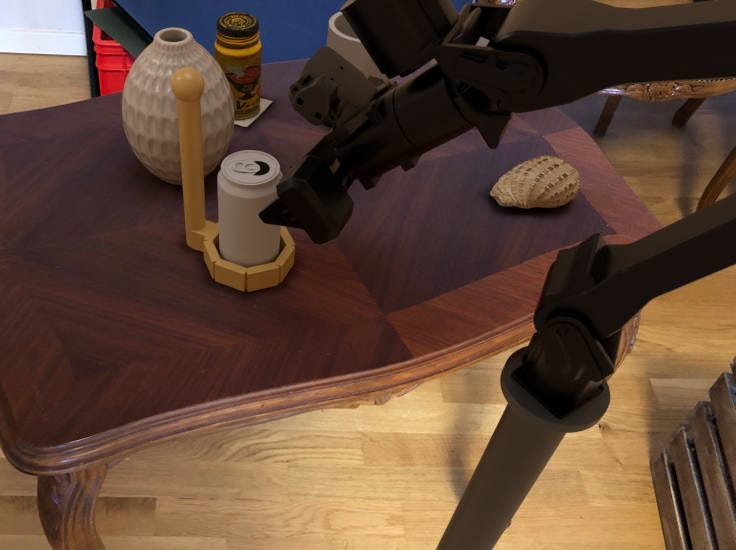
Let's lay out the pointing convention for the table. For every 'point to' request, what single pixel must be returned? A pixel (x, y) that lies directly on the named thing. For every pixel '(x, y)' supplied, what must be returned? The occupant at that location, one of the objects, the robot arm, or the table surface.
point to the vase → (174, 105)
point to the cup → (351, 47)
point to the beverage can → (247, 208)
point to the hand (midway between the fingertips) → (282, 191)
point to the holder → (198, 229)
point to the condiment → (241, 63)
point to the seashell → (537, 184)
